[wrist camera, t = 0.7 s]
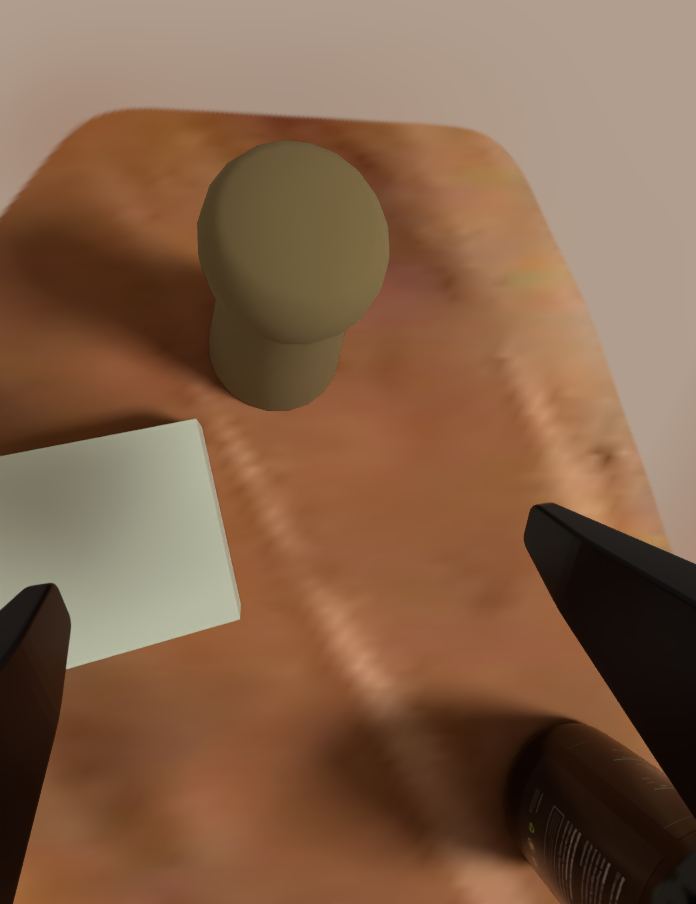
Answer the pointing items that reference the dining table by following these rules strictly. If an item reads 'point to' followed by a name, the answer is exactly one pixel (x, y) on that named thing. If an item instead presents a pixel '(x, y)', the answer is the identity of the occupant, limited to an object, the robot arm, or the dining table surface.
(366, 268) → the cork
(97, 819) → the dining table surface
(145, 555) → the base brick
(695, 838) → the supplement bottle
